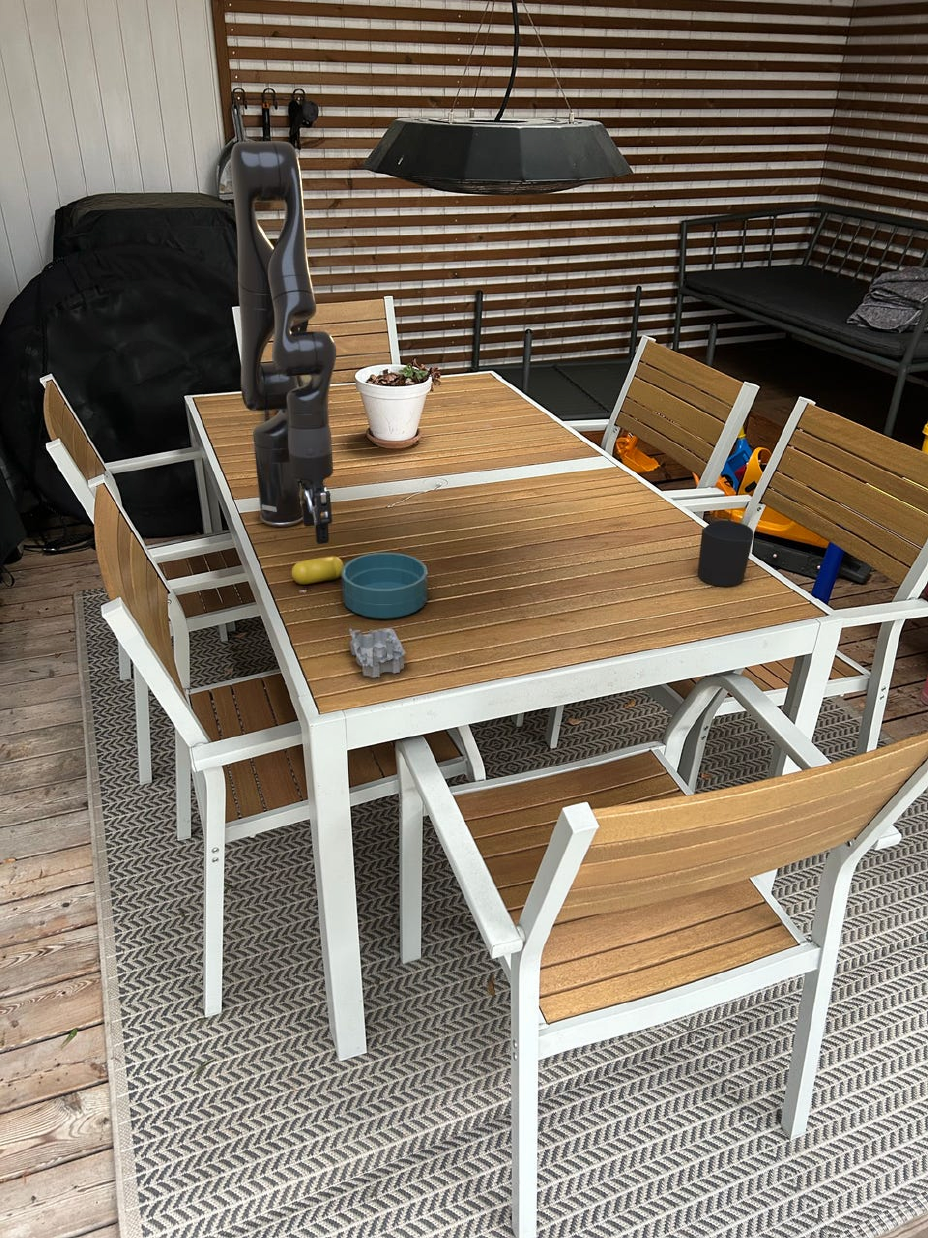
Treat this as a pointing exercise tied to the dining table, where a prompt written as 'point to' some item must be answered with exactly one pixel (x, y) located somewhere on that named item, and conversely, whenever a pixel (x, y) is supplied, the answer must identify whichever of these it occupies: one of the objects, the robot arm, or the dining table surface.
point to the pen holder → (724, 553)
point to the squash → (317, 570)
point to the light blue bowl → (384, 585)
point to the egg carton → (377, 651)
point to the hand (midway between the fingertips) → (315, 534)
